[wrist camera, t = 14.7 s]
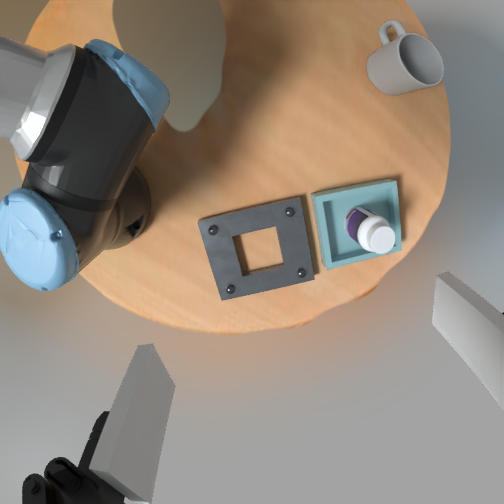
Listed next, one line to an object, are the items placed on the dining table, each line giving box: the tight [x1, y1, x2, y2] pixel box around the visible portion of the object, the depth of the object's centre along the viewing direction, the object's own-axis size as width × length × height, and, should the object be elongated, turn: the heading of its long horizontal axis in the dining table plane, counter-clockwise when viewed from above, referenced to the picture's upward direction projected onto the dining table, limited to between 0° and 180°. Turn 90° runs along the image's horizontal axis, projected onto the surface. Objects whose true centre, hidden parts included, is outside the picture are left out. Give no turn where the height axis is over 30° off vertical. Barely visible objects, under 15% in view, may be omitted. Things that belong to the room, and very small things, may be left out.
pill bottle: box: [343, 207, 395, 254], centre depth 41 cm, size 5×5×10 cm
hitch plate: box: [198, 196, 315, 300], centre depth 46 cm, size 16×14×2 cm
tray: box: [311, 179, 402, 270], centre depth 45 cm, size 14×12×3 cm
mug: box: [366, 20, 444, 96], centre depth 31 cm, size 12×8×11 cm
